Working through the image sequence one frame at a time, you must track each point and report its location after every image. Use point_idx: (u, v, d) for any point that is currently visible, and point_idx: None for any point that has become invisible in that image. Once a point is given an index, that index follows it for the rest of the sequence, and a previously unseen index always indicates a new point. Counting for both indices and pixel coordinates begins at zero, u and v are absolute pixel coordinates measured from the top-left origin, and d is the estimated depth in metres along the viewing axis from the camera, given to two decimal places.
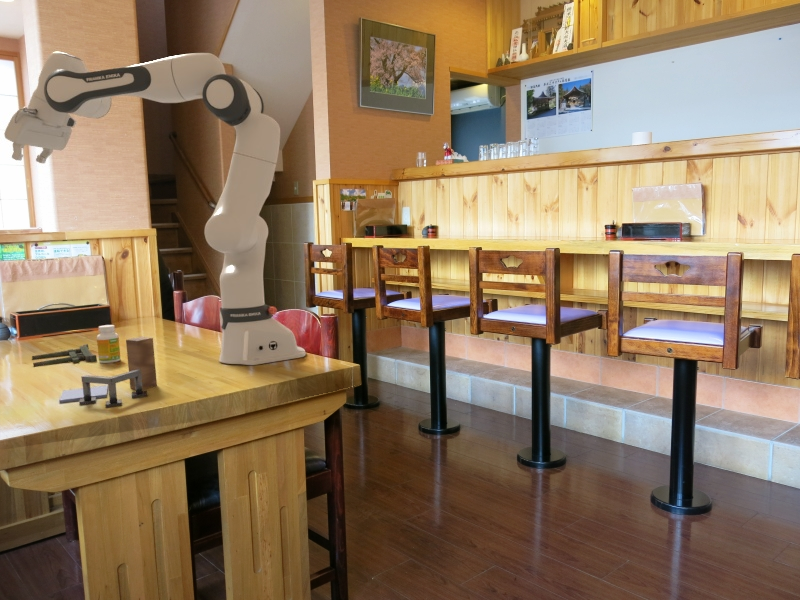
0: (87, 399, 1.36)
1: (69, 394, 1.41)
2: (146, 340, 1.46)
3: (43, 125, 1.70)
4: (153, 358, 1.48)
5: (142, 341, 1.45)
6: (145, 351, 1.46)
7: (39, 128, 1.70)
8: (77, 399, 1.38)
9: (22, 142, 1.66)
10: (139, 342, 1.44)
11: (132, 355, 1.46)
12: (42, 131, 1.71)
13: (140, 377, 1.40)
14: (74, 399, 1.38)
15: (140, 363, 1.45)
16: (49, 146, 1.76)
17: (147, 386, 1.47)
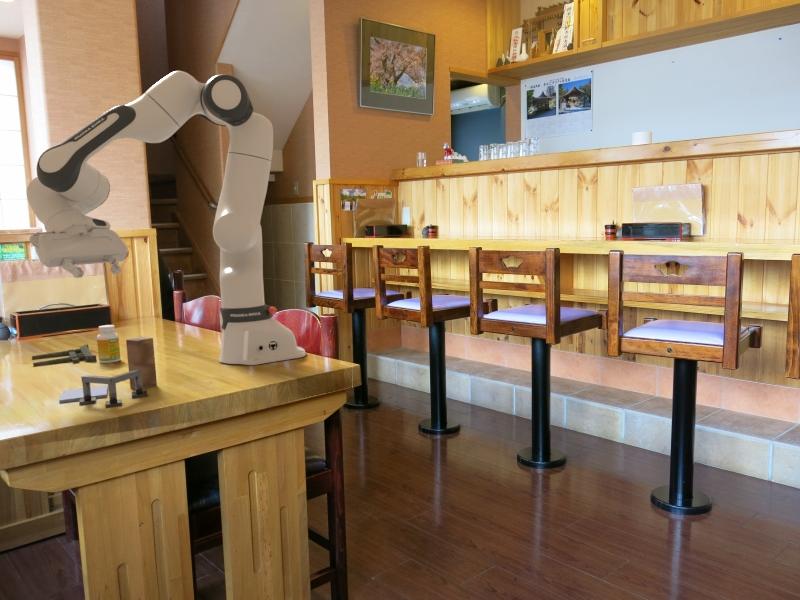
0: (87, 399, 1.36)
1: (69, 394, 1.41)
2: (146, 340, 1.46)
3: (70, 235, 1.51)
4: (153, 358, 1.48)
5: (142, 341, 1.45)
6: (145, 351, 1.46)
7: (70, 240, 1.51)
8: (77, 399, 1.38)
9: (59, 254, 1.45)
10: (139, 342, 1.44)
11: (132, 355, 1.46)
12: (77, 241, 1.52)
13: (140, 377, 1.40)
14: (74, 399, 1.38)
15: (140, 363, 1.45)
16: (104, 250, 1.54)
17: (147, 386, 1.47)
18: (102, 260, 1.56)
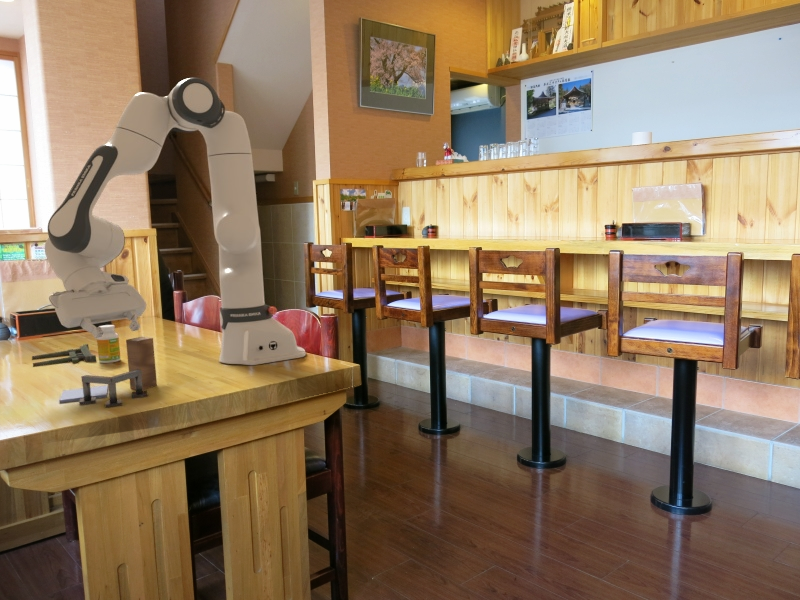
0: (87, 399, 1.36)
1: (69, 394, 1.41)
2: (146, 340, 1.46)
3: (89, 293, 1.50)
4: (153, 358, 1.48)
5: (142, 341, 1.45)
6: (145, 351, 1.46)
7: (89, 298, 1.50)
8: (77, 399, 1.38)
9: (79, 314, 1.45)
10: (139, 342, 1.44)
11: (132, 355, 1.46)
12: (96, 299, 1.51)
13: (140, 377, 1.40)
14: (74, 399, 1.38)
15: (140, 362, 1.45)
16: (122, 307, 1.53)
17: (147, 386, 1.47)
18: (121, 316, 1.55)
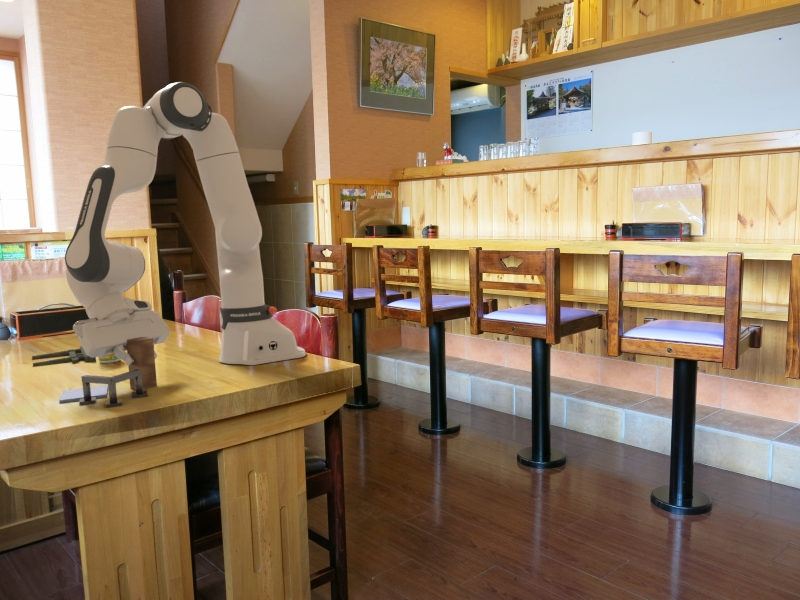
0: (87, 399, 1.36)
1: (69, 394, 1.41)
2: (146, 340, 1.46)
3: (112, 321, 1.47)
4: (153, 358, 1.48)
5: (142, 341, 1.45)
6: (145, 351, 1.46)
7: (113, 326, 1.47)
8: (77, 399, 1.38)
9: (104, 344, 1.42)
10: (139, 342, 1.44)
11: None
12: (120, 327, 1.48)
13: (140, 377, 1.40)
14: (74, 399, 1.38)
15: (140, 362, 1.45)
16: (146, 335, 1.51)
17: (147, 386, 1.47)
18: None
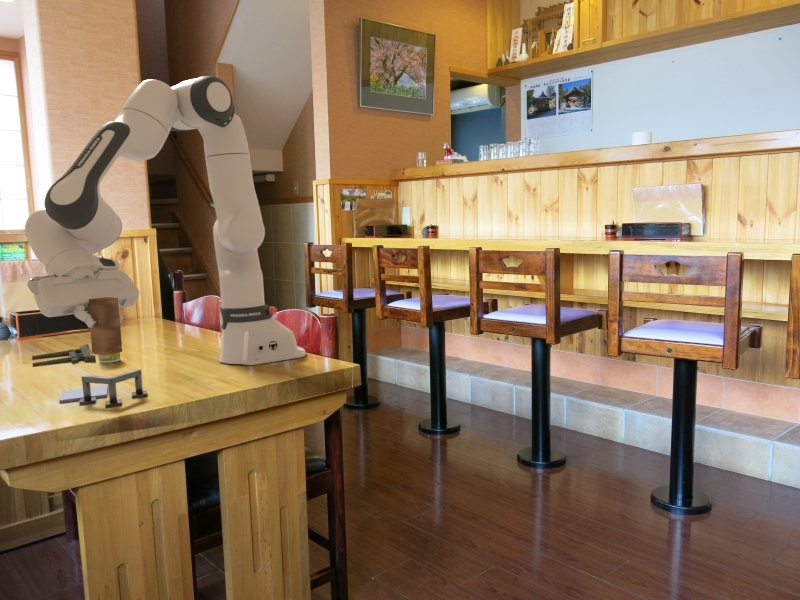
0: (87, 399, 1.36)
1: (69, 394, 1.41)
2: (110, 300, 1.31)
3: (73, 279, 1.32)
4: (118, 320, 1.32)
5: (105, 301, 1.30)
6: (109, 312, 1.31)
7: (73, 284, 1.31)
8: (77, 399, 1.38)
9: (62, 302, 1.26)
10: (102, 301, 1.29)
11: None
12: (82, 286, 1.33)
13: (140, 377, 1.40)
14: (74, 399, 1.38)
15: (103, 324, 1.29)
16: (112, 295, 1.35)
17: (111, 351, 1.31)
18: None
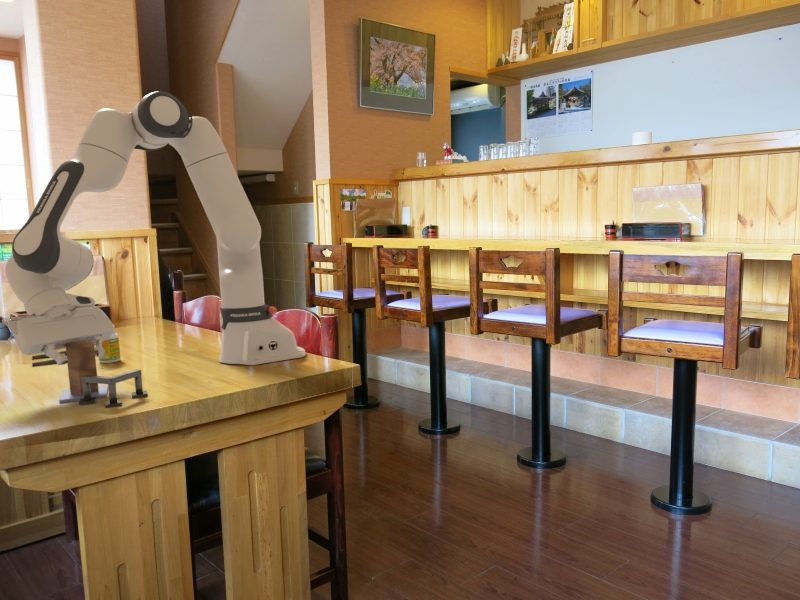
0: (87, 399, 1.36)
1: (69, 394, 1.41)
2: (86, 344, 1.41)
3: (51, 317, 1.42)
4: (94, 362, 1.42)
5: (82, 345, 1.40)
6: (86, 355, 1.40)
7: (51, 323, 1.41)
8: (77, 399, 1.38)
9: (39, 341, 1.36)
10: (78, 346, 1.39)
11: (72, 359, 1.40)
12: (59, 324, 1.42)
13: (140, 377, 1.40)
14: (74, 399, 1.38)
15: (80, 367, 1.39)
16: (88, 332, 1.45)
17: None
18: None
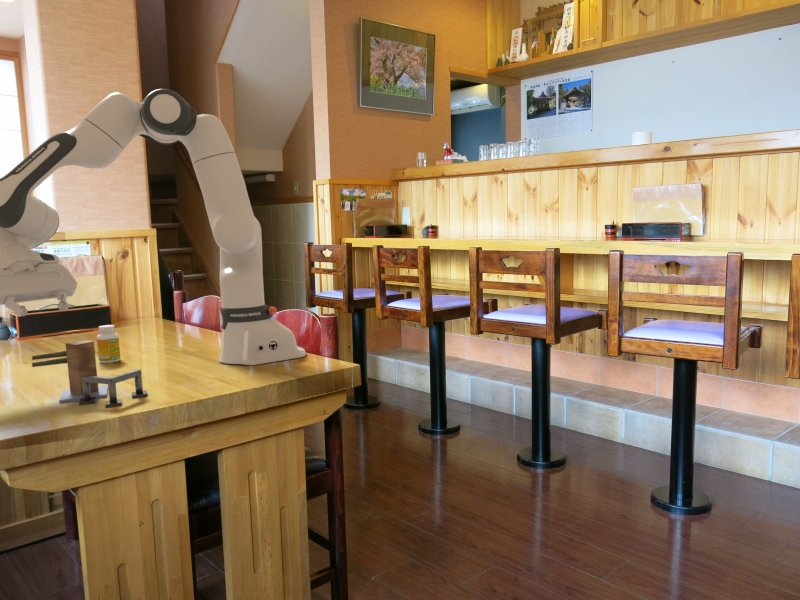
0: (87, 399, 1.36)
1: (69, 394, 1.41)
2: (86, 344, 1.41)
3: (14, 271, 1.47)
4: (94, 362, 1.42)
5: (82, 345, 1.40)
6: (86, 355, 1.40)
7: (14, 277, 1.47)
8: (77, 399, 1.38)
9: (2, 292, 1.41)
10: (78, 346, 1.39)
11: (72, 359, 1.40)
12: (22, 278, 1.48)
13: (140, 377, 1.40)
14: (74, 399, 1.38)
15: (80, 367, 1.39)
16: (50, 286, 1.50)
17: None
18: (49, 296, 1.52)
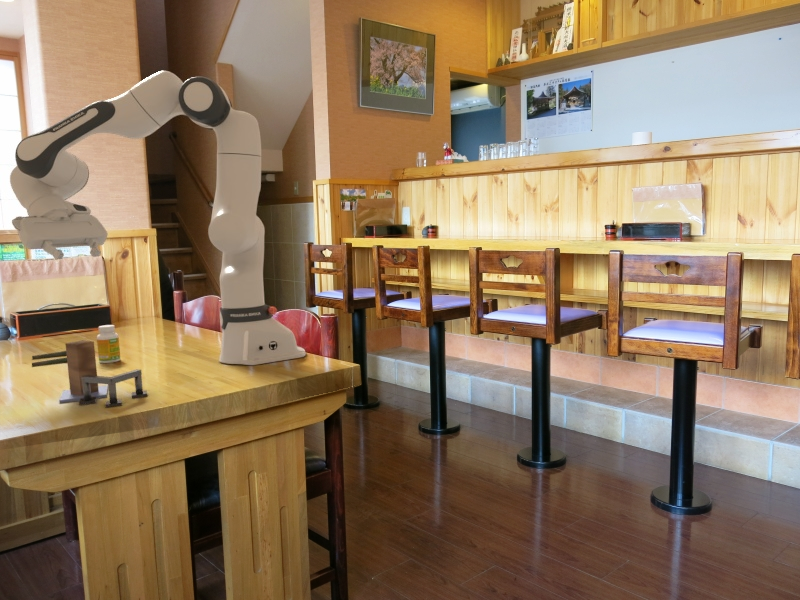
0: (87, 399, 1.36)
1: (69, 394, 1.41)
2: (86, 344, 1.41)
3: (51, 219, 1.58)
4: (94, 362, 1.42)
5: (82, 345, 1.40)
6: (86, 355, 1.40)
7: (51, 224, 1.58)
8: (77, 399, 1.38)
9: (40, 236, 1.53)
10: (78, 346, 1.39)
11: (72, 359, 1.40)
12: (58, 225, 1.59)
13: (140, 377, 1.40)
14: (74, 399, 1.38)
15: (80, 367, 1.39)
16: (84, 234, 1.62)
17: None
18: (82, 243, 1.63)
